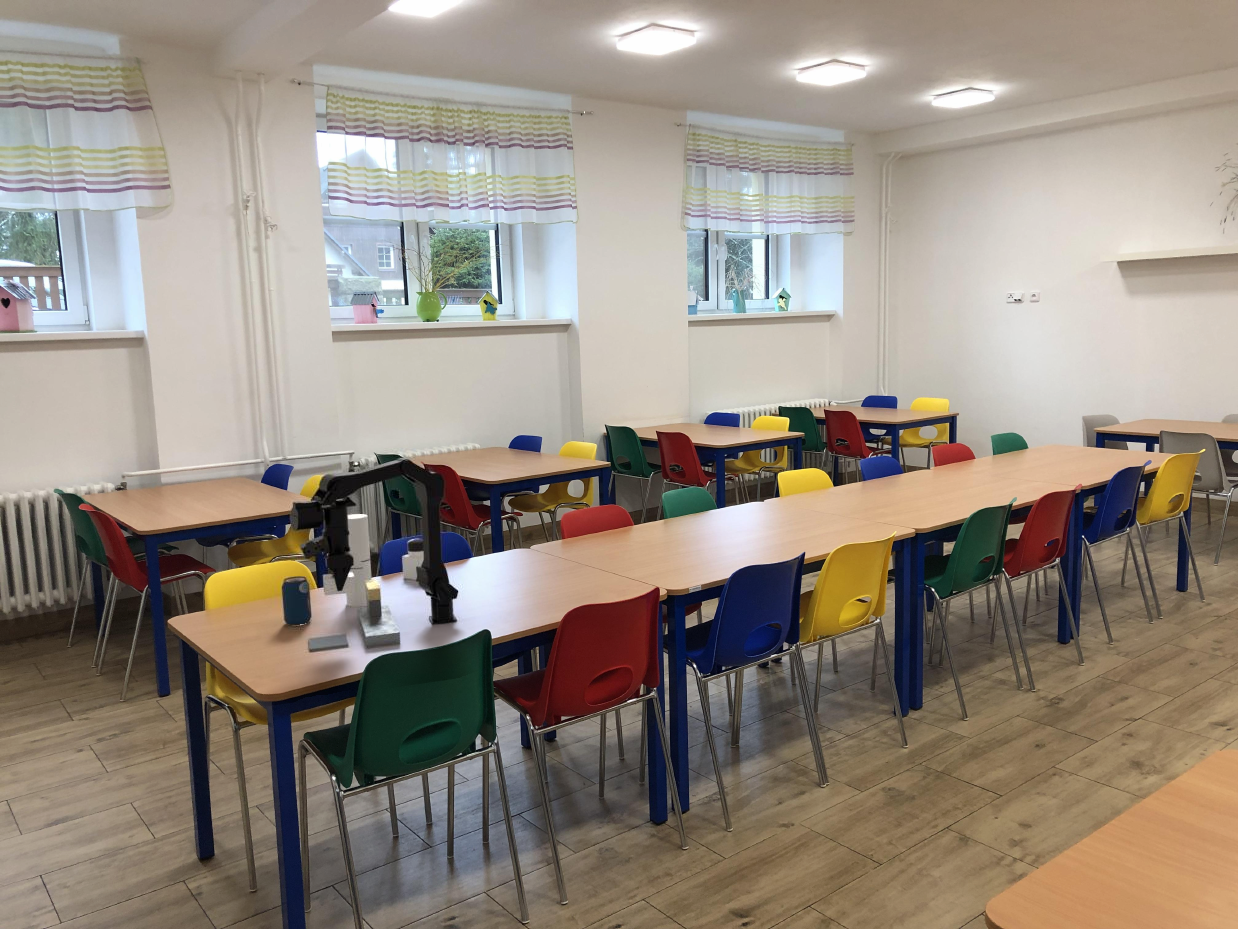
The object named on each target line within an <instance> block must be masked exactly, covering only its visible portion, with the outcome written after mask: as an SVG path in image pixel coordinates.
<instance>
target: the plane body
mask: <svg viewBox="0 0 1238 929" xmlns="http://www.w3.org/2000/svg"><path fill="white" fill-rule="evenodd" d="M366 600H367V605H366V607H362V608H357V609H356V613H357V621H358V625H359V627H360V632H361V635H362V638H363V641H364V643H365V647H366V649H374V648H380V647H391V646H396V645H401V632H400V630H399V628H398V626H397V622H396V621H395V619H394V615H393V614H392V612H391V610H390V606H389V605H387V604H386V605H382V599H381V600H373V601H369V599H368V597H367V594H366Z"/></svg>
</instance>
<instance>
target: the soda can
mask: <svg viewBox="0 0 1238 929" xmlns="http://www.w3.org/2000/svg"><path fill="white" fill-rule="evenodd" d="M310 590H311V589H310V583H309V581H308V579H307V577H306V576H299V575H297V576H290V577H287V578H284V579H283V583H282V585H281V596H282V608H283V609H282V610H283V621H284V622H285V623H286V625H287V624H289V625H300V624H305V623H307V624H309V623H310V621H311V620H312V617H313V616H312V604H311V591H310ZM308 622H309V623H308ZM289 625H288V626H289ZM305 625H306V624H305Z"/></svg>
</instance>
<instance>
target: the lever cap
mask: <svg viewBox="0 0 1238 929" xmlns="http://www.w3.org/2000/svg"><path fill="white" fill-rule="evenodd" d="M322 584H323V593H324V596H333V595H343V594H344V595H346V593H355V585H354V575H353V573H352V572H349V574H348V577H347V579H346V582H345V584H344V587H343V590H342V591H337V587H336V583H335V579H334V575H333V573H327V574H322Z"/></svg>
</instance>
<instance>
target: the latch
mask: <svg viewBox="0 0 1238 929" xmlns="http://www.w3.org/2000/svg"><path fill="white" fill-rule="evenodd" d="M365 592H366V594H367V597H368V599H369V601H373V600H381V601H382V595H381V594H382V593H381V587H380V584H379V583H378V580H377V579H372V580H367V581H365Z"/></svg>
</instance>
